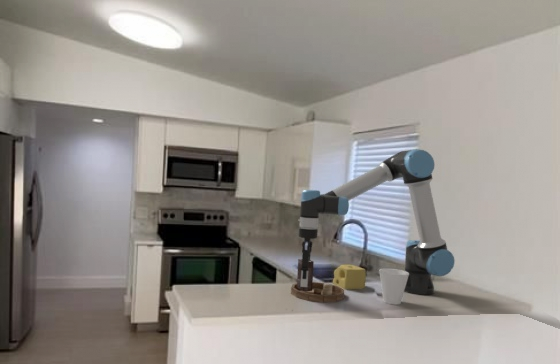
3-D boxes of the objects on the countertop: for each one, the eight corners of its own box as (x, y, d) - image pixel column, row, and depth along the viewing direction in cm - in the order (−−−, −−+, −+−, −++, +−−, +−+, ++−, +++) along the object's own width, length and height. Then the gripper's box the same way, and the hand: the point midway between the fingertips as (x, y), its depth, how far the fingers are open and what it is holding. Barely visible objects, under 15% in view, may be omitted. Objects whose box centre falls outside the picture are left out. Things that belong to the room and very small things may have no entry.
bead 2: (331, 297, 170) (332, 288, 170) (331, 299, 166) (332, 290, 166) (322, 296, 170) (323, 287, 170) (322, 298, 167) (322, 289, 167)
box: (295, 288, 175) (297, 258, 175) (305, 287, 177) (307, 258, 177) (302, 291, 170) (304, 261, 170) (312, 291, 172) (314, 261, 172)
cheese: (332, 286, 193) (333, 264, 193) (352, 285, 198) (353, 264, 198) (345, 292, 184) (346, 269, 184) (365, 291, 188) (367, 268, 188)
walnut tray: (343, 293, 182) (343, 285, 182) (343, 307, 161) (344, 298, 161) (294, 288, 185) (294, 280, 185) (288, 301, 164) (289, 292, 164)
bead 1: (331, 292, 178) (332, 283, 178) (331, 294, 174) (332, 285, 174) (323, 291, 178) (323, 283, 178) (322, 293, 175) (323, 285, 175)
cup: (388, 307, 166) (390, 275, 166) (371, 298, 177) (373, 268, 177) (413, 305, 170) (415, 274, 170) (394, 297, 181) (396, 268, 181)
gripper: (301, 224, 184) (297, 278, 184) (296, 229, 164) (292, 289, 164) (318, 226, 183) (315, 279, 183) (316, 231, 163) (312, 291, 163)
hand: (304, 284), depth 174 cm, fingers closed on box, 7 cm apart
